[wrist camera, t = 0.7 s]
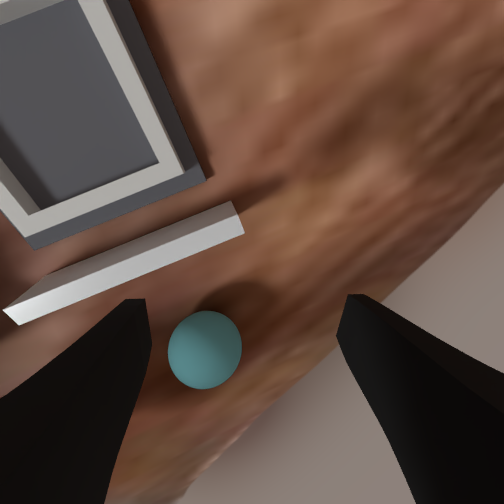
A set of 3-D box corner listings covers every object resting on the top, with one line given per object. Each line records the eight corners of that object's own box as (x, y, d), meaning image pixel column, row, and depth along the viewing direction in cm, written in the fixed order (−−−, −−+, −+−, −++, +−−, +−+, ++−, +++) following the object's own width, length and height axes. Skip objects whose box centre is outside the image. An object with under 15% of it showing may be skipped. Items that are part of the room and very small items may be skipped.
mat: (40, 247, 16) (21, 258, 15) (-147, 24, 11) (-207, 3, 9) (206, 179, 16) (206, 183, 15) (98, -70, 11) (80, -107, 10)
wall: (57, 288, 18) (18, 325, 14) (45, 275, 17) (2, 310, 13) (236, 215, 18) (244, 233, 14) (230, 200, 17) (237, 214, 14)
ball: (190, 356, 22) (186, 417, 17) (160, 312, 20) (145, 368, 15) (246, 333, 22) (258, 387, 17) (222, 287, 20) (228, 333, 15)
